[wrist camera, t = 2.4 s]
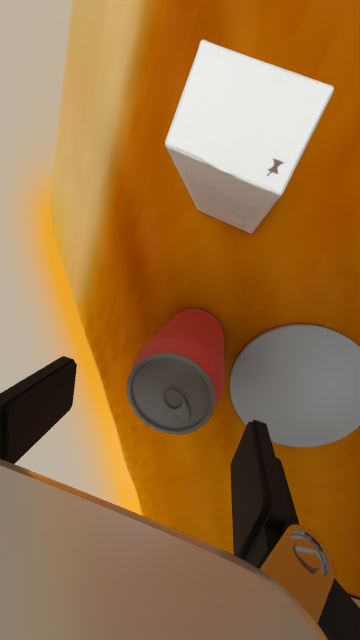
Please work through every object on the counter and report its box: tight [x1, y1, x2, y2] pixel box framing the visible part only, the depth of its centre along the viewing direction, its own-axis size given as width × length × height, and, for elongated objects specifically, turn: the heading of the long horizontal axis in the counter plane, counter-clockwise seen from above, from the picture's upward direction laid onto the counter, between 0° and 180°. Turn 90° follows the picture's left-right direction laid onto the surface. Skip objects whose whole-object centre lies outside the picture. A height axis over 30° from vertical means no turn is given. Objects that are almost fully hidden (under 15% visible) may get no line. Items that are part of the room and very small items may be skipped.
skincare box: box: [165, 40, 334, 234], centre depth 15 cm, size 6×4×12 cm
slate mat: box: [230, 323, 360, 447], centre depth 23 cm, size 14×14×1 cm
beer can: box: [127, 308, 224, 434], centre depth 19 cm, size 7×7×12 cm
